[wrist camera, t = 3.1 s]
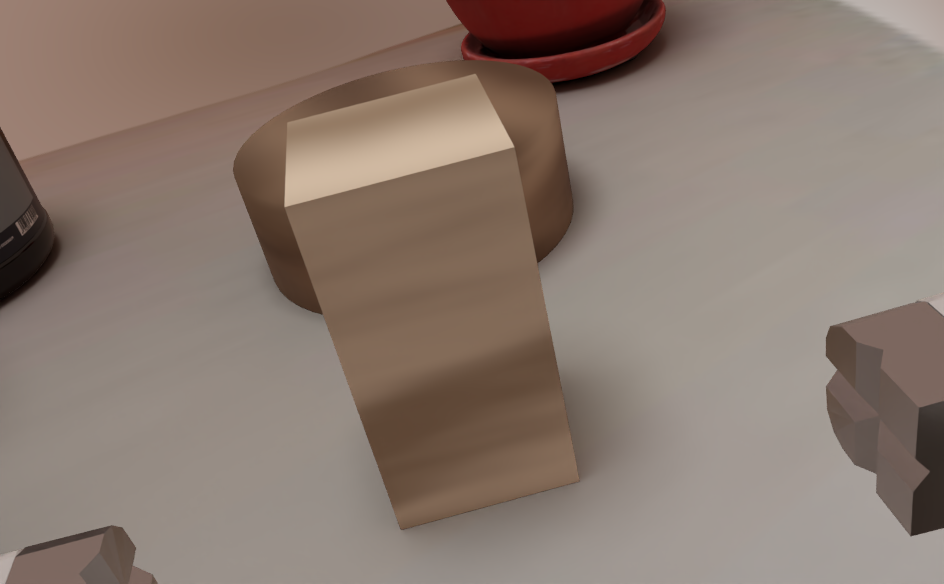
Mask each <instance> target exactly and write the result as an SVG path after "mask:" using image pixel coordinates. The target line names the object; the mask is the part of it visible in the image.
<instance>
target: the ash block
mask: <svg viewBox="0 0 944 584" xmlns="http://www.w3.org/2000/svg"><path fill="white" fill-rule="evenodd" d="M284 207H285V210H286V213H287V216H288V219H289V221H290V224H291V227H292V230H293V232H294V235H295V238H296V241H297V243H298V246H299V249H300V252H301V255H302V257H303V260H304V263H305V266H306V268H307V271H308V274H309V277H310V279H311V282H312V285H313V288H314V291H315V293H316V296H317V299H318V302H319V304H320V307H321V310H322V313H323V315H324V318H325V321H326V324H327V327H328V329H329V332H330V335H331V338H332V340H333V343H334V346H335V349H336V351H337V354H338V357H339V360H340V363H341V365H342V368H343V371H344V374H345V376H346V379H347V382H348V385H349V387H350V390H351V393H352V396H353V399H354V401H355V404H356V407H357V410H358V412H359V415H360V418H361V421H362V423H363V426H364V429H365V432H366V435H367V437H368V440H369V443H370V446H371V448H372V451H373V454H374V457H375V459H376V462H377V465H378V468H379V471H380V473H381V476H382V479H383V482H384V484H385V487H386V490H387V493H388V495H389V498H390V501H391V504H392V507H393V509H394V512H395V515H396V518H397V520H398V523H399V526H400V529H401V530H403V529H406V528H410V527H414V526H417V525H421V524H425V523H428V522H432V521H436V520H439V519H443V518H447V517H450V516H454V515H458V514H461V513H465V512H469V511H472V510H476V509H480V508H483V507H487V506H491V505H494V504H498V503H502V502H505V501H509V500H513V499H516V498H520V497H524V496H527V495H531V494H535V493H538V492H542V491H546V490H549V489H553V488H557V487H560V486H564V485H568V484H571V483H575V482H579V481H580V480H579V475H578V470H577V465H576V460H575V455H574V450H573V444H572V439H571V434H570V429H569V424H568V419H567V414H566V408H565V403H564V398H563V393H562V388H561V383H560V378H559V373H558V367H557V362H556V357H555V352H554V347H553V342H552V337H551V331H550V326H549V321H548V316H547V311H546V306H545V301H544V296H543V290H542V285H541V280H540V275H539V270H538V265H537V260H536V254H535V249H534V244H533V239H532V234H531V229H530V224H529V219H528V213H527V208H526V203H525V198H524V193H523V188H522V183H521V177H520V172H519V167H518V162H517V157H516V152H515V147H514V145H513V143H512V141H511V139H510V137H509V136H508V134H507V132H506V130H505V128H504V126H503V124H502V122H501V121H500V119H499V117H498V115H497V113H496V111H495V109H494V107H493V105H492V104H491V102H490V100H489V98H488V96H487V94H486V92H485V90H484V88H483V87H482V85H481V83H480V81H479V79H478V77H477V75H476V74H473V75H469V76H465V77H461V78H458V79H454V80H450V81H446V82H442V83H438V84H434V85H430V86H427V87H423V88H419V89H415V90H411V91H407V92H403V93H399V94H396V95H392V96H388V97H384V98H380V99H376V100H372V101H369V102H365V103H361V104H357V105H353V106H349V107H345V108H341V109H338V110H334V111H330V112H326V113H322V114H318V115H314V116H310V117H307V118H303V119H299V120H295V121H291V122H287V147H286V175H285V204H284Z"/></svg>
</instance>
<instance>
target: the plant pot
mask: <svg viewBox="0 0 944 584" xmlns="http://www.w3.org/2000/svg"><path fill="white" fill-rule="evenodd" d="M446 1H447V3H448V4H449V6H450V7H451V9H452V11H453V12H454V13H455V15H456V16H457V17H458V19H459V20H460V21H461V23H462V24H463V25H464V26H465V27H466V29H467V30H468V31H469V33H468V34H467V35H466V37H465V38H464V40H463V42H462V46H461V51H462V55H463V58H464V60H487V61H499V62H507V63H512V64H517V65H521V66H524V67H527V68H530V69H532V70H534V71H537V72H539V73H540V74H542V75H543V76H545V77H546V78H547V79H548V80H549V81H550V82H551V83H553V82H560V81H567V80H572V79H577V78H581V77H585V76H589V75H592V74H596V73H599V72H602V71H605V70H608V69H610V68H612V67H615V66H617V65H619V64H621V63H623V62H625V61H627V60H632V59H634V58H636V56H637V54H638V53H639V52H641V51H642V50H643V49H644V48H646V47H647V46H648V45H649V44H650V43H651V41H652V40H653V39H654V38H655V37H656V35H657V34H658V32H659V31H660V29H661V27H662V25H663V22H664V19H665V11H666V10H665V5H664V3H663V2H662V0H446Z"/></svg>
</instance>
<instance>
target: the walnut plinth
mask: <svg viewBox="0 0 944 584" xmlns="http://www.w3.org/2000/svg"><path fill="white" fill-rule="evenodd" d="M473 74H476V75H477V77H478V79H479V81H480V83H481V85H482V87H483V88H484V90H485V92H486V94H487V96H488V98H489V100H490V102H491V104H492V105H493V107H494V109H495V111H496V113H497V115H498V117H499V119H500V121H501V122H502V124H503V126H504V128H505V130H506V132H507V134H508V136H509V137H510V139H511V141H512V143H513V145H514V147H515V152H516V157H517V162H518V167H519V172H520V177H521V183H522V188H523V193H524V198H525V203H526V208H527V213H528V219H529V224H530V229H531V234H532V239H533V244H534V249H535V254H536V260H537V263H538V262H540V261H541V260H542V259H543V258H545V257H546V256H547V255H548V254H549V253H550V252H551V251H552V250H553V249H554V248H555V247H556V246H557V244H558V243H559V242H560V240H561V239H562V238H563V236H564V235H565V233H566V231H567V229H568V227H569V225H570V223H571V220H572V215H573V198H572V192H571V186H570V179H569V173H568V167H567V160H566V154H565V148H564V142H563V135H562V129H561V123H560V117H559V110H558V104H557V98H556V92H555V90H554V87H553V85H552V84H551V82H550V81H549V80H548V79H547V78H546V77H545V76H543V75H542V74H540V73H539V72H537V71H534V70H532V69H530V68H527V67H524V66H521V65H517V64H512V63H507V62H499V61H487V60H459V61H446V62H436V63H428V64H421V65H416V66H410V67H404V68H400V69H395V70H390V71H386V72H382V73H379V74H375V75H371V76H367V77H364V78H361V79H358V80H354V81H351V82H348V83H346V84H343V85H340V86H337V87H334V88H332V89H329V90H327V91H324V92H322V93H320V94H317V95H315V96H313V97H311V98H309V99H306V100H304V101H302V102H300V103H298V104H296V105H295V106H293V107H291V108H289V109H287V110H286V111H284V112H282V113H281V114H279V115H277V116H276V117H274V118H273V119H271V120H270V121H269V122H267V123H266V124H264V125H263V126H262V127H261V128H259V129H258V130H257V131H256V132H255V133H254V134H252V135H251V137H250V138H249V139H248V140H247V141H246V142H245V143H244V144H243V146H242V147H241V149H240V150H239V152H238V153H237V156H236V158H235V161H234V167H233V172H234V176H235V180H236V182H237V185H238V187H239V190H240V193H241V195H242V198H243V200H244V203H245V206H246V208H247V211H248V213H249V216H250V219H251V221H252V224H253V226H254V229H255V232H256V234H257V237H258V239H259V242H260V244H261V247H262V250H263V252H264V255H265V257H266V260H267V263H268V265H269V268H270V270H271V273H272V276H273V278H274V281H275V283H276V285H277V286H278V288H279V290H280V291H281V292H282V293H283V294H284V295H285V296H286V297H287V298H288V299H289V300H290V301H292V302H293V303H295V304H297V305H298V306H300V307H302V308H305V309H307V310H310V311H312V312H315V313H319V314H323V313H322V310H321V307H320V304H319V302H318V299H317V296H316V293H315V291H314V288H313V285H312V282H311V279H310V277H309V274H308V271H307V268H306V266H305V263H304V260H303V257H302V255H301V252H300V249H299V246H298V243H297V241H296V238H295V235H294V232H293V230H292V227H291V224H290V221H289V219H288V216H287V213H286V210H285V207H284V204H285V175H286V147H287V122H291V121H295V120H299V119H303V118H307V117H310V116H314V115H318V114H322V113H326V112H330V111H334V110H338V109H341V108H345V107H349V106H353V105H357V104H361V103H365V102H369V101H372V100H376V99H380V98H384V97H388V96H392V95H396V94H399V93H403V92H407V91H411V90H415V89H419V88H423V87H427V86H430V85H434V84H438V83H442V82H446V81H450V80H454V79H458V78H461V77H465V76H469V75H473Z"/></svg>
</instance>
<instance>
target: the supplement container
mask: <svg viewBox="0 0 944 584" xmlns="http://www.w3.org/2000/svg"><path fill="white" fill-rule="evenodd" d="M53 242H54V229H53V224H52V221H51V219H50V217H49V215H48V213H47V211H46V210H45V209H44V208H43V207H42V205H41V204H40V202H39V200H38V198H37V196H36V194H35V192H34V190H33V188H32V186H31V185H30V183H29V181H28V179H27V177H26V175H25V173H24V171H23V169H22V168H21V166H20V164H19V162H18V160H17V158H16V156H15V155H14V152H13V150H12V149H11V147H10V145H9V143H8V141H7V139H6V137H5V135H4V133H3V131H2V130H1V128H0V300H1V299H3V298H5V297H6V296H8V295H9V294H11V293H12V292H13V291H15V290H16V289H17V288H19V287H20V286H21V285H22V284H24V283H25V282H26V281H27V280H28V279H29V278H30V277H31V276H32V275H33V274H34V273H35V272H36V271H37V270H38V269H39V268H40V266H41V265H42V264H43V262H44V261H45V259H46V258H47V256H48V254H49V252H50V251H51V248H52V245H53Z"/></svg>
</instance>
